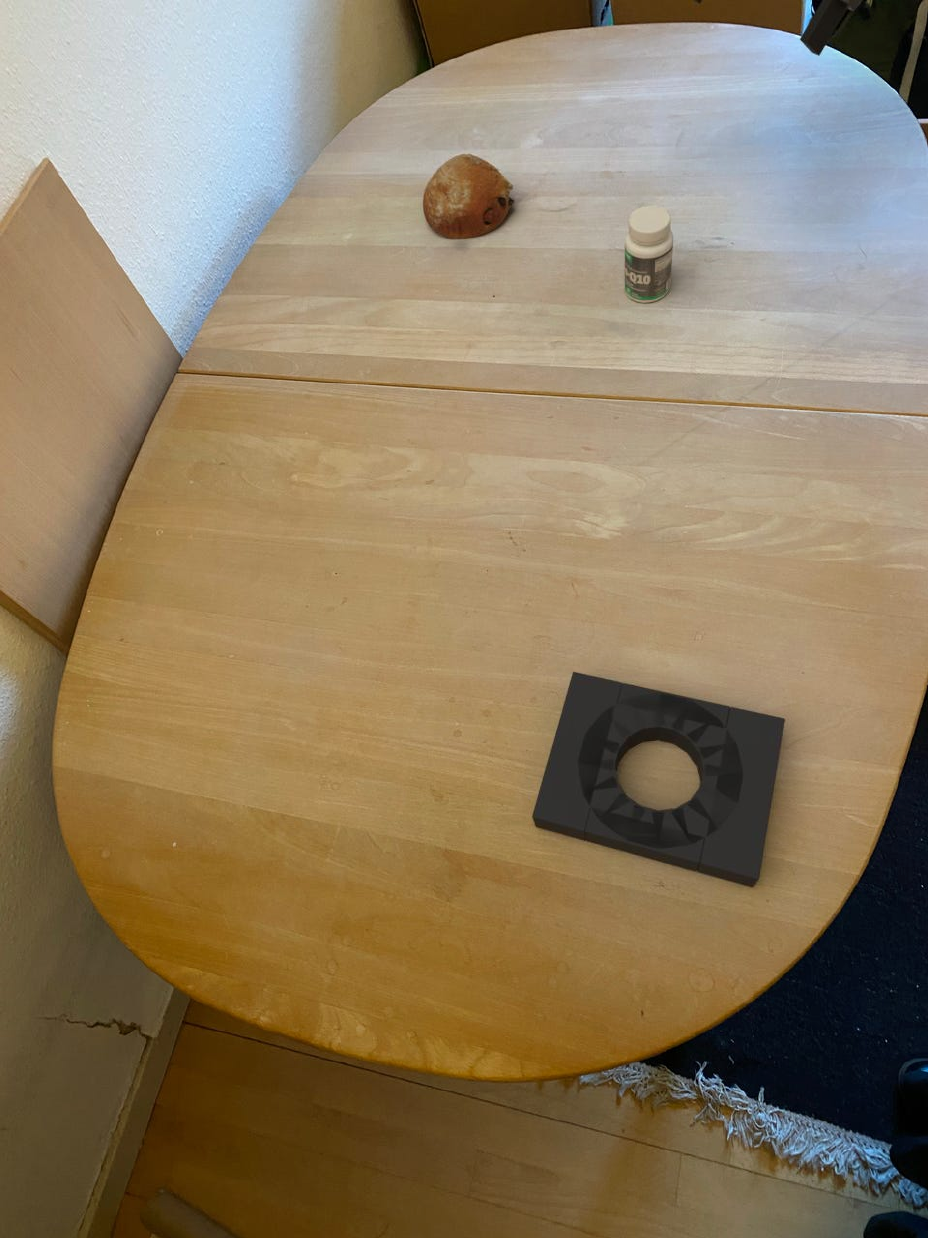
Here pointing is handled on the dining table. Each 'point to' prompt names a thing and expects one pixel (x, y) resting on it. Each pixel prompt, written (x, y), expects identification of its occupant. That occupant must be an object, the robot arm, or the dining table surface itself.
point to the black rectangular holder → (684, 836)
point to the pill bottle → (648, 254)
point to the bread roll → (466, 198)
